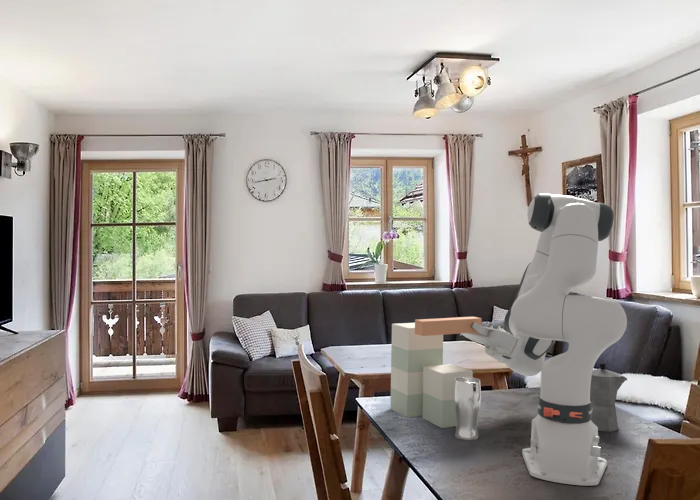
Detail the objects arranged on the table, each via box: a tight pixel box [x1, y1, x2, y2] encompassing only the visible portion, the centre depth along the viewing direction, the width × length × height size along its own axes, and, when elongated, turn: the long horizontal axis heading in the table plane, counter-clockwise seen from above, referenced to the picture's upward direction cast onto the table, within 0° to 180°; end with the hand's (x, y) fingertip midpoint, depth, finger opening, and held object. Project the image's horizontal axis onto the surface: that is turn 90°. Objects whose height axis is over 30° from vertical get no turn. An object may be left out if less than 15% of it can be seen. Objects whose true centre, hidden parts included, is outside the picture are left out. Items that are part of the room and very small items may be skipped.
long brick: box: [414, 316, 483, 336], centre depth 168 cm, size 20×4×4 cm, turn 115°
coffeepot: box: [590, 362, 628, 433], centre depth 166 cm, size 15×9×18 cm, turn 45°
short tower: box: [422, 363, 474, 429], centre depth 168 cm, size 10×10×15 cm
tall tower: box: [389, 322, 444, 418], centre depth 178 cm, size 12×10×26 cm
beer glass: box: [454, 377, 482, 441], centre depth 155 cm, size 7×7×15 cm
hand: (466, 323), depth 171 cm, fingers closed on long brick, 4 cm apart
